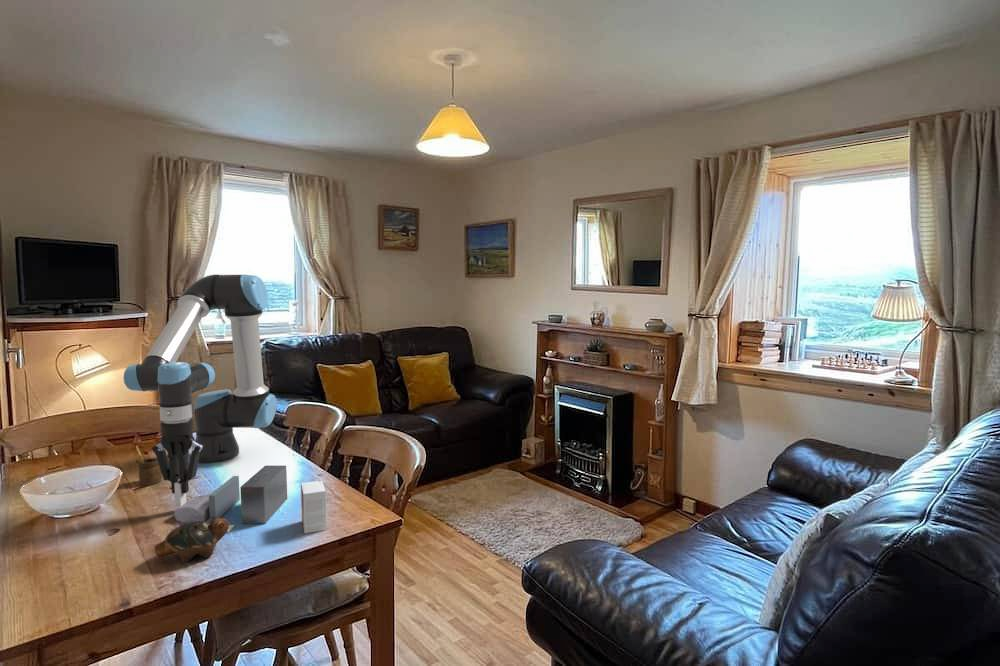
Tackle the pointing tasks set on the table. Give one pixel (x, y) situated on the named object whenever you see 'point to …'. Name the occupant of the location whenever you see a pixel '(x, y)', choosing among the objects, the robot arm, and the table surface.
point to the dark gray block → (263, 494)
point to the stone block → (194, 510)
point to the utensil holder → (149, 470)
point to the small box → (313, 506)
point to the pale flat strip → (230, 528)
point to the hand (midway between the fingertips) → (181, 504)
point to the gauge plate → (224, 498)
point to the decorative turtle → (193, 539)
